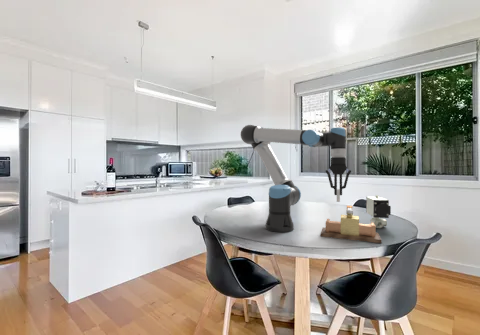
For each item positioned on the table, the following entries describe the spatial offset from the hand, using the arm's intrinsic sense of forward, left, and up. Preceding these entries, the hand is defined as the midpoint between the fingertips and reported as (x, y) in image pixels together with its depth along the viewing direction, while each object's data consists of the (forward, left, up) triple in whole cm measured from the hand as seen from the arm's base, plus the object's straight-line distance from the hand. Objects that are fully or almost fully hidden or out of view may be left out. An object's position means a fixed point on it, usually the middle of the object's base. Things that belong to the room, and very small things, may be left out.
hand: (338, 201), depth 131 cm
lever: (+5, -3, -5) cm, 8 cm away
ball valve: (+20, +17, -16) cm, 31 cm away
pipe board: (+5, -9, -16) cm, 19 cm away
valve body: (+5, -9, -15) cm, 18 cm away
